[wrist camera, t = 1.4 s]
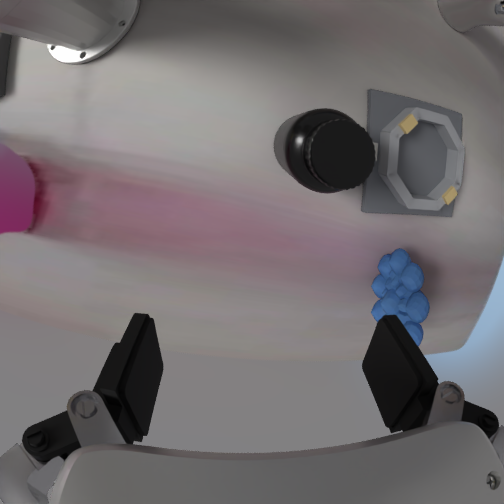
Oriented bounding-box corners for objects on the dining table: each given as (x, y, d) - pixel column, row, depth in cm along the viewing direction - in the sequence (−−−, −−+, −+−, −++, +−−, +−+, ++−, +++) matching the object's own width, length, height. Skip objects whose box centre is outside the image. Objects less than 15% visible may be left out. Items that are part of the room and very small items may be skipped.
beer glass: (471, 44, 21) (547, 35, 7) (435, 19, 20) (512, -5, 6) (469, 10, 18) (538, -5, 4) (434, -15, 17) (501, -44, 3)
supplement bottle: (348, 152, 28) (405, 169, 17) (299, 189, 30) (333, 227, 19) (309, 101, 26) (351, 85, 15) (258, 140, 27) (269, 147, 16)
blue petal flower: (392, 312, 37) (430, 368, 26) (352, 314, 37) (384, 377, 26) (414, 238, 32) (470, 284, 22) (371, 236, 32) (423, 287, 21)
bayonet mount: (367, 89, 25) (382, 86, 22) (458, 113, 25) (476, 115, 22) (360, 210, 31) (373, 220, 27) (448, 214, 31) (463, 224, 28)
